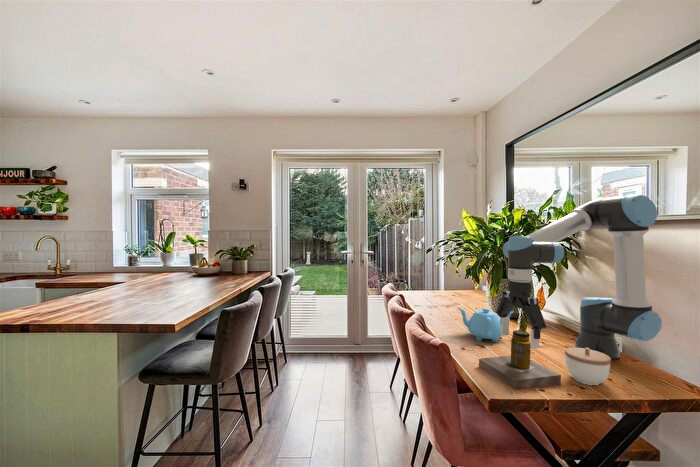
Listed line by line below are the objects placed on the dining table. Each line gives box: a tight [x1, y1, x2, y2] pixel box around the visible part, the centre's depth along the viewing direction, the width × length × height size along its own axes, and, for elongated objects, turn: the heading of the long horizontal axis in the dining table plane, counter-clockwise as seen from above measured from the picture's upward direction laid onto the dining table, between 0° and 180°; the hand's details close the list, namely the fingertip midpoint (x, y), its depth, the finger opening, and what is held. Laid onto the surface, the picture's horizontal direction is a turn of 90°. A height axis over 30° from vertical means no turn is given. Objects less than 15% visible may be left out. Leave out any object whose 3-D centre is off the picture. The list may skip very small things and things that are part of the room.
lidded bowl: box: [564, 347, 612, 386], centre depth 110 cm, size 13×13×11 cm
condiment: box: [502, 329, 535, 373], centre depth 114 cm, size 7×8×12 cm
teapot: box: [457, 307, 515, 343], centre depth 153 cm, size 16×20×14 cm
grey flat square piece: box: [478, 355, 562, 391], centre depth 114 cm, size 18×18×3 cm
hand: (518, 341), depth 114 cm, fingers open, 13 cm apart
